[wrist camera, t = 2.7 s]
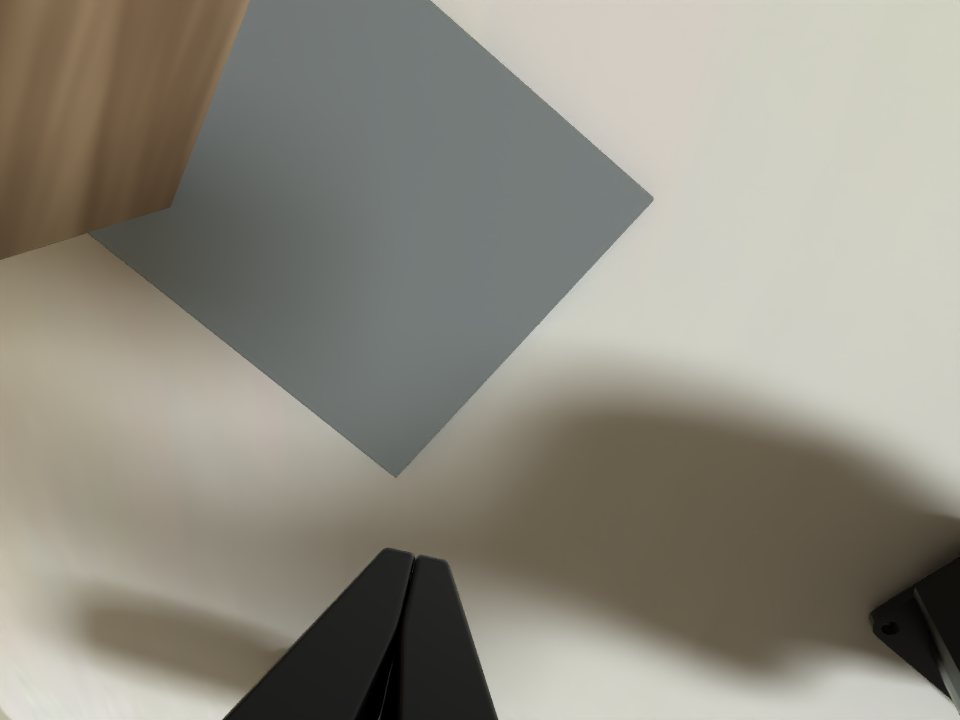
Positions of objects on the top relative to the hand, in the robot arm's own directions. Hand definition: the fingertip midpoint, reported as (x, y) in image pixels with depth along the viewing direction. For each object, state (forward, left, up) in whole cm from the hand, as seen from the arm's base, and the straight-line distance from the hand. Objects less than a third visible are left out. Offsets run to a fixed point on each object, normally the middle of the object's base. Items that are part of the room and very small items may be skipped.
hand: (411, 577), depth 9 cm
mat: (+6, +2, -12) cm, 14 cm away
